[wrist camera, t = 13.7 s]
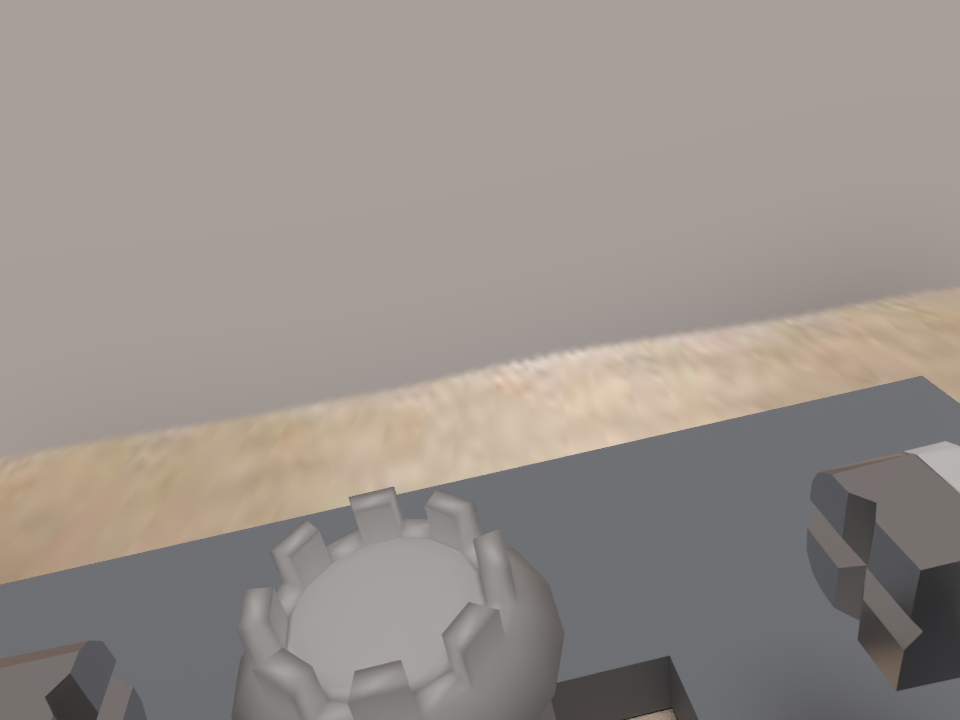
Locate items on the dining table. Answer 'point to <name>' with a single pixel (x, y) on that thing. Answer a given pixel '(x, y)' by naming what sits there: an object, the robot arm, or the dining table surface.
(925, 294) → the dining table surface
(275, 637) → the rook chess piece
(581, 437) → the dining table surface
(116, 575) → the socket board
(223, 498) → the dining table surface
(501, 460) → the dining table surface
